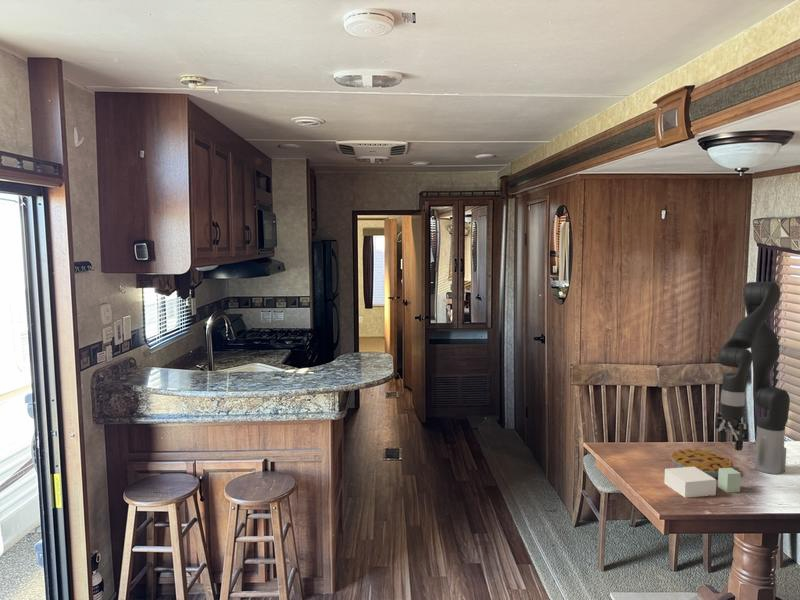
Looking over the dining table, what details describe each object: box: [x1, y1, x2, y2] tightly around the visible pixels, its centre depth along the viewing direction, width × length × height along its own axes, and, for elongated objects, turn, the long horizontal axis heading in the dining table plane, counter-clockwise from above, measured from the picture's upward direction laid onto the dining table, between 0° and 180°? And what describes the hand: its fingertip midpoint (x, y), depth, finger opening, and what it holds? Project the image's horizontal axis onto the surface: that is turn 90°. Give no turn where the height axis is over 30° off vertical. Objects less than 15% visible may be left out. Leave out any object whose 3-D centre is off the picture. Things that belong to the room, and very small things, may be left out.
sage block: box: [717, 467, 742, 494], centre depth 206 cm, size 5×5×7 cm
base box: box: [664, 467, 717, 499], centre depth 207 cm, size 12×12×6 cm
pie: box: [670, 448, 735, 479], centre depth 225 cm, size 22×22×5 cm
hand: (730, 445), depth 205 cm, fingers open, 8 cm apart
